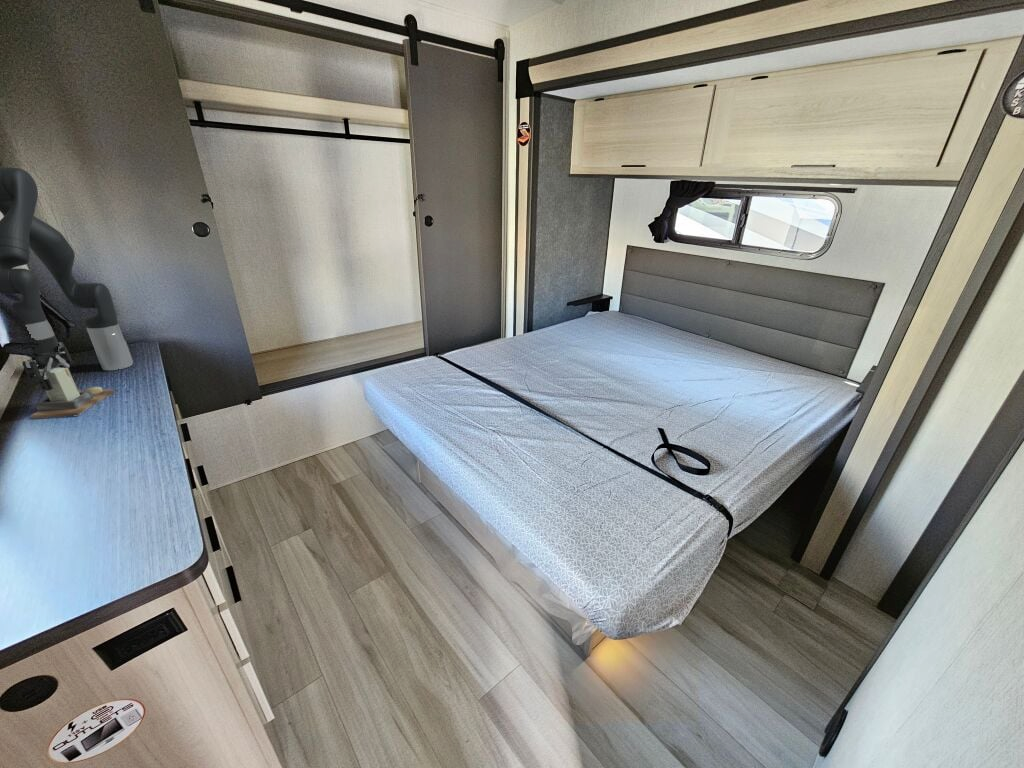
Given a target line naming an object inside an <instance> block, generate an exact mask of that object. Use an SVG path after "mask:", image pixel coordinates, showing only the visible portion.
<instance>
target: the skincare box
mask: <svg viewBox="0 0 1024 768" xmlns="http://www.w3.org/2000/svg"><path fill="white" fill-rule="evenodd" d="M40 374H41V376H42V375H43V373H40ZM71 374H72V373H71ZM71 374H70V372H69V370H68V368H58V367H57V366H54V367H53V368H51V370H50V372H49V373H48V378H47V379H49V381H50V383H51V385H52V387H53V389H52V390H50V391H45V393H46V395H47V397H49V399H50V401H51V402H57V401H72V400H74V399H76V398H77V397H79V396H80V394H79V391H80V390H79V389H78V387H77V386H76V383H75V381H74V379H73V378H72V377H73V375H72V376H71Z"/></svg>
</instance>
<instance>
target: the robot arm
mask: <svg viewBox="0 0 1024 768" xmlns="http://www.w3.org/2000/svg"><path fill="white" fill-rule="evenodd" d="M38 196H39V192H38V186H37V183H36V181H35V179H34V177H32V175H31V174H30V173H29V172H28V171H26V170H25V169H23V168H19V167H12V166H11V167H9V166H0V213H1V214H2V215H3V217H2V218H0V293H1V294H0V295H17V294H19V295H20V294H21V295H22V299H21V300H16V301H17V302H16V301H14V302H15V303H13V306H12V307H13V308H14V310H15V311H16V313H17V314H18V316H19V318H20V319H21V321H22V322H24V323H25V324H26V325H25V326H26V327H27V330H28V331H29V334H31V338H34V339H35V340H37V341H39V342H40V343H41V346H39V348H35V349H34V350H30V351H33V352H34V353H35V354H38V355H39V354H43V353H47V352H49V351H50V349H53V348H55V347H56V346H58V343H59V341H58V339H57V337H56V334H55V333H54V330H53V328H52V326H51V324H50V323H49V321H48V319H47V316H46V315H45V312H44V310H43V308H42V303H41V302H42V301H41V293H40V292H41V285H40V280H39V278H38V276H37V275H36V273H34V272H33V271H31V270H30V269H27V268H17V267H21V266H26V265H27V264H29V263H30V256H31V255H30V250H32V252H33V253H34V255H35V256H36V257H37V258H38V259H39V260H40V261H41V263H42V264H43V265H44V266H45V268H46V269H47V271H49V273H50V274H51V275H52V277H53V278H54V280H55V281H56V283H57V284H58V286H59V288H60V290H61V291H62V293H63V294H64V295H65V297H66V299H67V300H68V301H69V302H70V304H71V305H73V306H74V307H75V308H78V309H97V314H95V315H92V316H89V317H87V318H85V319H83V321H84V322H83V324H84V326H85V327H86V331H87V333H88V335H89V338H90V341H91V343H92V346H93V348H94V351H95V353H96V357H97V359H98V361H99V364H100V366H101V368H102V370H103V371H119V370H122V369H126V368H127V369H128V368H129V367H131V366H133V363H134V360H133V357H132V354H131V352H130V348H129V347H128V343H127V341H126V340H125V337H124V335H123V333H122V330H121V327H120V324H119V321H118V317H117V311H116V308H115V305H114V302H113V297H112V294H111V293H110V292H111V291H110V290H109V288H108V286H106V285H105V284H104V283H101V282H90V283H89V282H87V283H86V282H81V283H80V282H79V281H78V280H76V278H75V277H74V276H73V273H72V271H73V265H74V263H75V257H76V256H75V252H74V250H73V247H72V246H71V244H70V243H69V242H68V241H67V239H66V237H65V236H64V235H63V233H61V232H60V231H59V230H57V229H56V228H55V227H53V226H51V225H50V224H48V223H46V222H45V221H43V220H41V219H40V218H38V217H36V216H35V210H36V206H37V201H38ZM30 358H31V359H30V360H28V361H22V366H23V369H24V371H25V373H26V376H27V378H28V380H29V381H36V382H38V384H39V387H40V388H41V390H43V391H44V392H46V391H50V390H52V389H53V387H52V385H51V383H50V381H49V379H47V378H48V373H49V372H50V370H51V368H53V367H57V368H68V370H69V372H70V374H71V376H72V378H73V373H72V372H71V369H70V366H71V365H72V364H74V361H73V359H72V357H71V355H70V352H69V350H68V348H67V347H66V346H60V345H59V346H58V352H56V353H55V354H47V355H40V356H30ZM118 369H119V370H118ZM40 373H43V375H42V376H41V374H40Z"/></svg>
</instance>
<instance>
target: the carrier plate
mask: <svg viewBox="0 0 1024 768" xmlns="http://www.w3.org/2000/svg"><path fill="white" fill-rule="evenodd" d="M78 391H79V394H80V396H79V397H77V398H76V399H74V400H72V401H57V402H51V401H50V399H49V397H48V396H46V397H45V398H42V399H41V400H39V401H38V402H36V403H35V407H36V410H37V411H36V412H34V413H32V414H30V417H31V419H32V420H35V419H38V418H39V419H51V418H50V417H57V418H65V417H64V416H74V415H79V414H80V413H82V412H83V411H85V410H86V409H88V408H90V407H91V406H93V405H94V404H96V403H97V402H99V401H101V400H102V399H104V398H105V397H107V396H108V397H110V396H111V395H112V393H113V394H114V393H115V390H114V389H113V388H105V389H103V388H102V387H101V386H92V387H89V388H85V389H83V390H78ZM110 394H111V395H110ZM109 395H110V396H109ZM108 397H107V398H108ZM105 399H106V398H105ZM105 399H104V400H105ZM102 401H103V400H102ZM102 401H101V402H102ZM99 403H100V402H99ZM96 405H97V404H96ZM93 407H94V406H93ZM90 409H91V408H90ZM48 417H49V418H48Z"/></svg>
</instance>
